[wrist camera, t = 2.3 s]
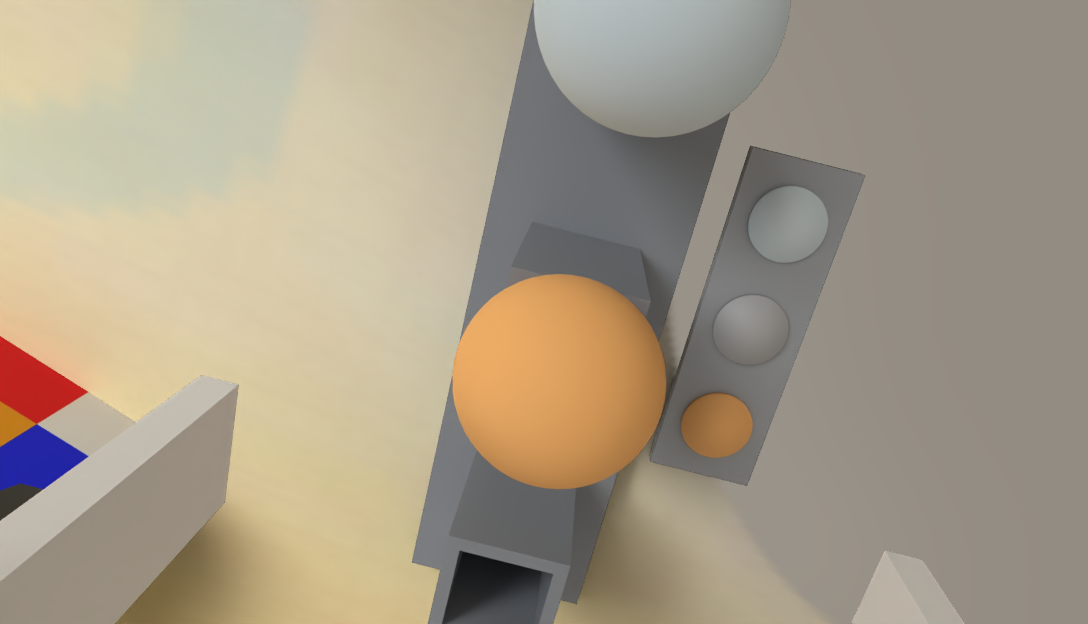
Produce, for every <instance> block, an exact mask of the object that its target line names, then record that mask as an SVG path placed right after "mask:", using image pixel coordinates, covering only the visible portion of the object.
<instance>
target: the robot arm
mask: <svg viewBox="0 0 1088 624" xmlns="http://www.w3.org/2000/svg"><path fill="white" fill-rule="evenodd" d="M238 386H239V385H238V384H234V383H230V382H226V381H222V380H219V379H215V378H211V377H207V376H203V375H201V376H199V377H198V378H196V379H195V380H194V381H192V382H191V383H189V384H188V385H187V386H185V387H184V388H183V389H181V390H180V391H178V392H177V393H176V394H174V395H173V396H172V397H170V398H169V399H167V400H166V401H165V402H163V403H162V404H161V405H159V406H158V407H156V408H155V409H154V410H152V411H151V412H150V413H148V414H147V415H145V416H144V417H143V418H141V419H140V420H138V421H137V422H136V423H134V424H133V425H132V426H130V427H129V428H127V429H126V430H125V431H123V432H122V433H121V434H119V435H118V436H116V437H115V438H114V439H112V440H111V441H110V442H108V443H107V444H105V445H104V446H103V447H101V448H100V449H99V450H97V451H96V452H94V453H93V454H92V455H90V456H89V457H87V458H86V459H85V460H83V461H82V462H81V463H79V464H78V465H76V466H75V467H74V468H72V469H71V470H70V471H68V472H67V473H65V474H64V475H63V476H61V477H60V478H59V479H57V480H56V481H54V482H53V483H52V484H50V485H49V486H48V487H46V488H45V489H41V488H37V487H33V486H29V485H25V484H21V483H19V484H17V485H14V486H11V487H9V488H6V489H3V490H0V624H115V623H116V622H117V621H118V620H119V618H120V617H121V616H122V615H123V614H124V613H125V612H126V611H127V610H128V609H129V607H130V606H131V605H132V604H133V603H134V602H135V601H136V600H137V599H138V598H139V596H140V595H141V594H142V593H143V592H144V591H145V590H146V589H147V588H148V586H149V585H150V584H151V583H152V582H153V581H154V580H155V579H156V578H157V577H158V575H159V574H160V573H161V572H162V571H163V570H164V569H165V568H166V567H167V566H168V564H169V563H170V562H171V561H172V560H173V559H174V558H175V557H176V556H177V554H178V553H179V552H180V551H181V550H182V549H183V548H184V547H185V546H186V545H187V543H188V542H189V541H190V540H191V539H192V538H193V537H194V536H195V535H196V534H197V532H198V531H199V530H200V529H201V528H202V527H203V526H204V525H205V524H206V522H207V521H208V520H209V519H210V518H211V517H212V516H213V515H214V514H215V513H216V511H217V510H218V509H219V508H220V507H221V506H222V505H223V504H224V503H225V497H226V489H227V480H228V472H229V463H230V454H231V446H232V437H233V429H234V420H235V412H236V403H237V395H238ZM851 624H964V622H963V620H962V619H961V617H960V616H959V614H958V613H957V611H956V610H955V608H954V607H953V605H952V604H951V602H950V601H949V599H948V598H947V596H946V595H945V593H944V592H943V590H942V589H941V587H940V586H939V584H938V583H937V581H936V580H935V578H934V577H933V575H932V573H931V572H930V570H929V569H928V567H927V566H926V565H925V563H924V561H923V560H921V559H917V558H913V557H909V556H905V555H901V554H898V553H894V552H889V551H886V550H885V551H884V553H883V555H882V557H881V560H880V562H879V564H878V566H877V568H876V570H875V572H874V575H873V577H872V579H871V581H870V583H869V586H868V588H867V590H866V592H865V594H864V596H863V598H862V601H861V603H860V605H859V607H858V609H857V611H856V614H855V616H854V618H853V620H852V623H851Z"/></svg>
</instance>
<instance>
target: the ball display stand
mask: <svg viewBox="0 0 1088 624" xmlns="http://www.w3.org/2000/svg"><path fill="white" fill-rule="evenodd" d="M729 115H730V113H728V114H727V115H725V116H724V117H722V118H721V119H719V120H718V121H716V122H714V123H712V124H710V125H708V126H706V127H704V128H701V129H698V130H695V131H692V132H690V133H685V134H681V135H676V136H669V137H658V138H657V137H640V136H634V135H629V134H625V133H622V132H618V131H615V130H612V129H610V128H608V127H606V126H604V125H601V124H599V123H597V122H596V121H594V120H593V119H591V118H590V117H588V116H587V115H585V114H584V113H582V112H581V111H580V110H579V109H578V108H577V107H576V106H574V105H573V104H572V103H571V102H570V101H569V99H568V98H567V97H566V96H565V95H564V94H563V93H562V91H561V90H560V89H559V87H558V86H557V84H556V83H555V81H554V80H553V78H552V76H551V74H550V72H549V70H548V68H547V66H546V64H545V62H544V59H543V56H542V54H541V51H540V48H539V44H538V39H537V35H536V30H535V20H534V1H533V5H532V10H531V15H530V19H529V24H528V28H527V33H526V38H525V42H524V47H523V51H522V56H521V61H520V65H519V70H518V75H517V79H516V84H515V88H514V93H513V98H512V102H511V107H510V112H509V116H508V121H507V125H506V130H505V135H504V139H503V144H502V149H501V153H500V158H499V162H498V167H497V172H496V176H495V181H494V185H493V190H492V195H491V199H490V204H489V209H488V213H487V218H486V222H485V227H484V232H483V236H482V241H481V246H480V250H479V255H478V259H477V264H476V269H475V273H474V278H473V282H472V287H471V292H470V296H469V301H468V306H467V310H466V315H465V319H464V324H463V329H462V333H461V338H462V336H463V334H464V331H465V330H466V328H467V326H468V325H469V323H470V322H471V320H472V319H473V317H474V316H475V315H476V314H477V313H478V311H479V310H480V309H481V308H482V307H483V306H484V305H485V304H486V303H487V302H488V301H489V300H490V299H491V298H492V297H494V296H495V295H497V294H498V293H500V292H501V291H503V290H504V289H506V288H508V287H510V286H512V285H514V284H516V283H518V282H520V281H523V280H526V279H529V278H532V277H537V276H542V275H552V274H566V275H576V276H581V277H586V278H589V279H592V280H595V281H598V282H600V283H603V284H605V285H607V286H609V287H611V288H612V289H614V290H616V291H617V292H619V293H620V294H622V295H623V296H624V297H625V298H627V299H628V300H629V301H630V302H631V303H632V304H634V305H635V307H636V308H637V309H638V310H639V311H640V312H641V313H642V314H643V315H644V317H645V318H646V320H647V321H648V323H649V324H650V325H651V327H652V329H653V331H654V333H655V335H656V337H657V339H658V342H659V339H660V336H661V332H662V329H663V326H664V323H665V320H666V316H667V313H668V310H669V307H670V304H671V300H672V297H673V294H674V291H675V287H676V284H677V281H678V278H679V275H680V271H681V268H682V265H683V262H684V259H685V255H686V252H687V249H688V246H689V243H690V239H691V236H692V233H693V230H694V227H695V223H696V220H697V217H698V214H699V211H700V207H701V204H702V201H703V198H704V195H705V191H706V188H707V185H708V182H709V179H710V175H711V172H712V169H713V166H714V162H715V159H716V156H717V153H718V149H719V147H720V143H721V140H722V137H723V134H724V131H725V127H726V124H727V121H728V117H729ZM461 338H460V340H461ZM617 473H618V472H616V473H615V474H613V475H611V476H609V477H608V478H606V479H604V480H601V481H599V482H597V483H594V484H591V485H587V486H584V487H578V488H572V489H548V488H541V487H536V486H532V485H528V484H525V483H522V482H520V481H517V480H515V479H513V478H511V477H509V476H507V475H506V474H504V473H502V472H500V471H499V470H498V469H496V468H495V467H494V466H492V465H491V464H490V463H489V462H488V461H487V460H486V459H485V458H484V457H483V456H482V455H481V454H480V453H479V452H478V451H477V449H476V448H475V447H474V446H473V444H472V443H471V442H470V440H469V438H468V437H467V435H466V433H465V432H464V429H463V427H462V425H461V423H460V420H459V417H458V414H457V411H456V407H455V404H454V397H453V375H452V380H451V384H450V389H449V393H448V398H447V403H446V407H445V412H444V416H443V421H442V426H441V430H440V435H439V440H438V444H437V449H436V453H435V458H434V463H433V467H432V472H431V477H430V481H429V486H428V490H427V495H426V500H425V504H424V509H423V514H422V518H421V523H420V527H419V532H418V537H417V541H416V546H415V550H414V555H413V560H412V563H416V564H420V565H424V566H428V567H432V568H436V569H440V574H439V578H438V582H437V586H436V591H435V595H434V599H433V604H432V608H431V612H430V617H429V621H428V624H553V623H554V620H555V616H556V613H557V610H558V606H559V603H560V600H563V601H567V602H571V603H575V604H577V601H578V598H579V595H580V592H581V589H582V585H583V582H584V579H585V576H586V573H587V569H588V566H589V563H590V560H591V557H592V553H593V550H594V547H595V544H596V541H597V537H598V534H599V531H600V528H601V525H602V521H603V518H604V515H605V512H606V509H607V505H608V502H609V499H610V496H611V493H612V489H613V486H614V483H615V480H616V476H617Z"/></svg>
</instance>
